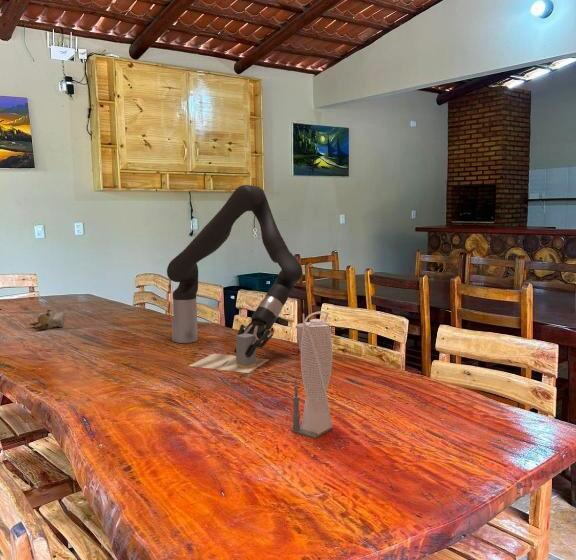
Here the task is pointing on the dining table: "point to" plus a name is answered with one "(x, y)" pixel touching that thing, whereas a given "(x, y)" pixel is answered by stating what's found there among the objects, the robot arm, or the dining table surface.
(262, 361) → the board
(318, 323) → the skyscraper
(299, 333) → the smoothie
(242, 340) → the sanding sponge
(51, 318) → the ceramic sculpture
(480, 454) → the dining table surface
